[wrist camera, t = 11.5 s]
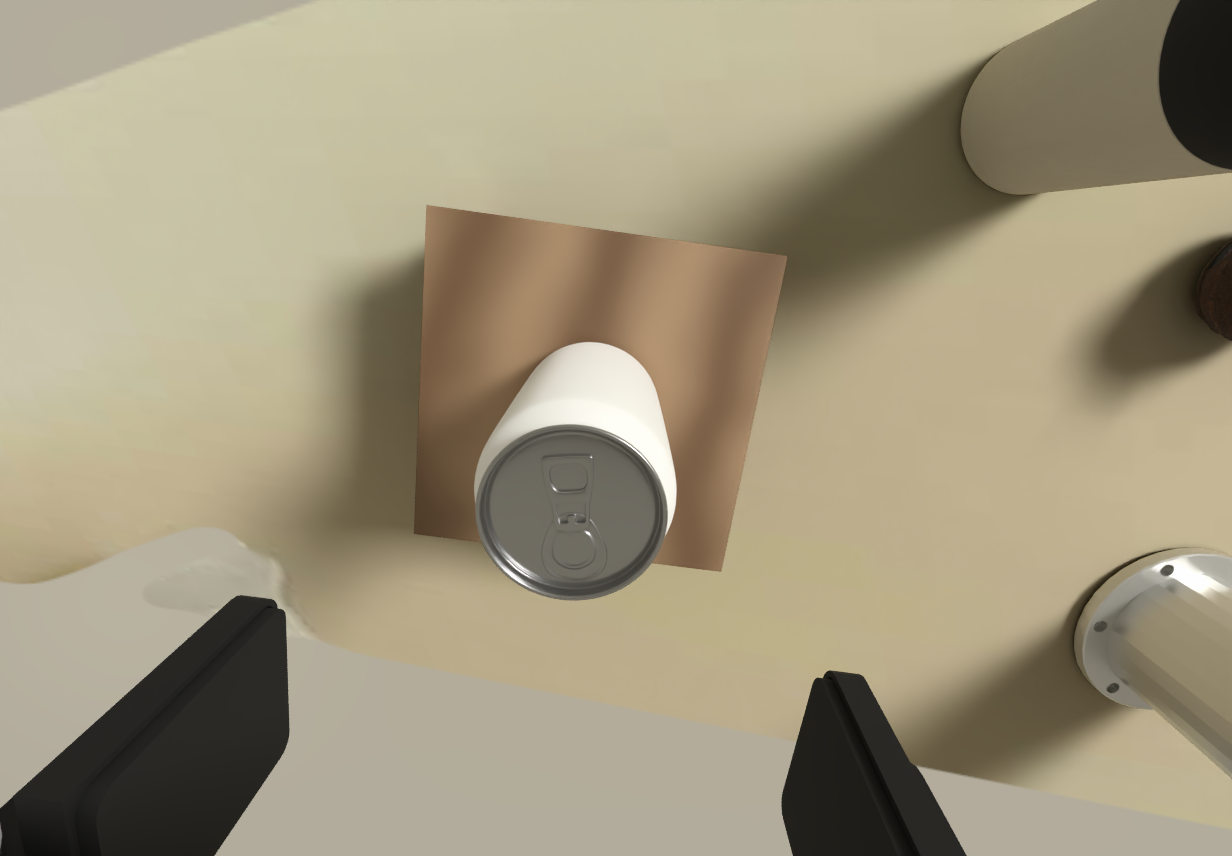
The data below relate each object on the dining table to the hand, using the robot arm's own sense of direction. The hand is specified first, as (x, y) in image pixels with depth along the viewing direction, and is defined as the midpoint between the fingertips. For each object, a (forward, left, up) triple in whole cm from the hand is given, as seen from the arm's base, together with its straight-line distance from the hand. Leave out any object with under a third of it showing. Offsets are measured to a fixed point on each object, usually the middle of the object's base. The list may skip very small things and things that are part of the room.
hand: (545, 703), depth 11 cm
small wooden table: (0, 0, -28) cm, 28 cm away
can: (0, 0, -20) cm, 20 cm away
